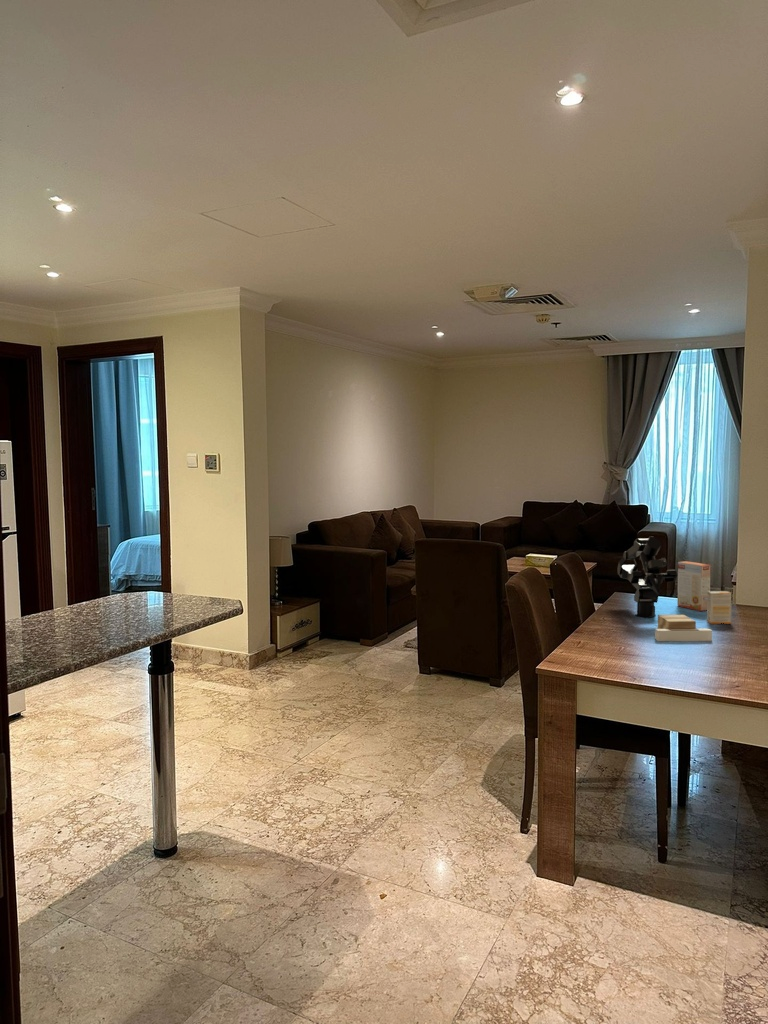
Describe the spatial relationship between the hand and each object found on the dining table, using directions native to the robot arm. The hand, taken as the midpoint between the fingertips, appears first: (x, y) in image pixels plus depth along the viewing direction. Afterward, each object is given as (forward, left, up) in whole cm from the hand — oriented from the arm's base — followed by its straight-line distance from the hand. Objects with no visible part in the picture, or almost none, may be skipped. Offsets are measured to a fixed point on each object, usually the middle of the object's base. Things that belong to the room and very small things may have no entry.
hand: (658, 593), depth 296 cm
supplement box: (+17, +18, -13) cm, 28 cm away
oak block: (+14, -15, -13) cm, 24 cm away
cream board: (+20, -20, -13) cm, 31 cm away
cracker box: (-2, +40, -13) cm, 42 cm away
